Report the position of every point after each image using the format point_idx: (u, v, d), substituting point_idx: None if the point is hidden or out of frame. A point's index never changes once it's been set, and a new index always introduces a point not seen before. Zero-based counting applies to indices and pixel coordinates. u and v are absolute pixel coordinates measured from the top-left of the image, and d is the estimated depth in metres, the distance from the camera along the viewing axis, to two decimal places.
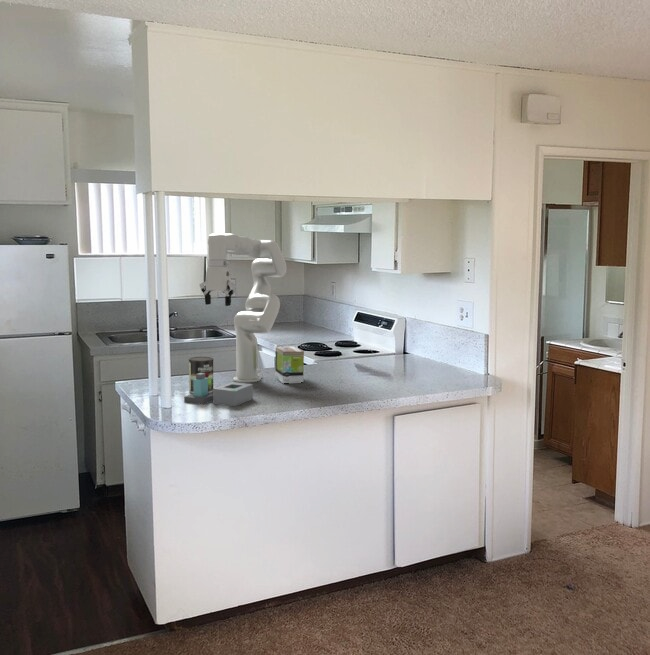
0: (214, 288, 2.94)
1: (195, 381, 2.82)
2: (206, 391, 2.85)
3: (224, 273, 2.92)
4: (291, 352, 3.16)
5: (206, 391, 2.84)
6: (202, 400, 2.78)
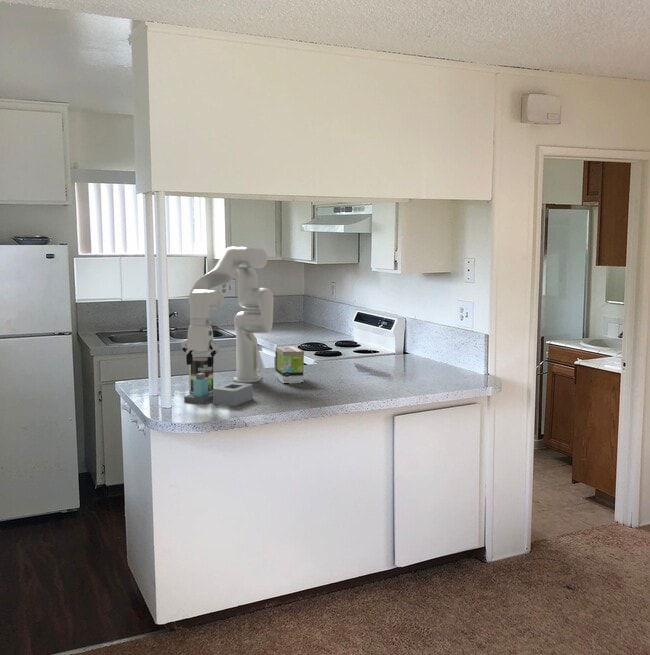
0: (196, 348, 2.79)
1: (195, 381, 2.82)
2: (206, 391, 2.85)
3: (206, 333, 2.77)
4: (291, 352, 3.16)
5: (206, 391, 2.84)
6: (202, 400, 2.78)
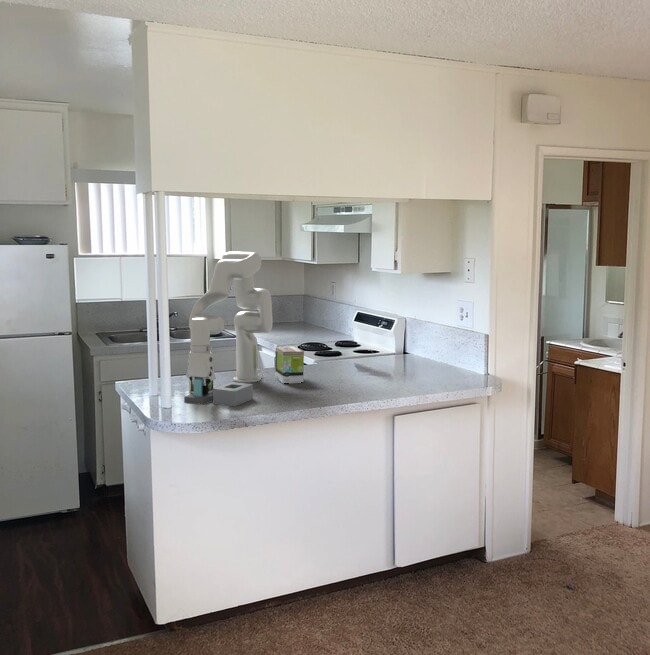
0: (197, 374, 2.81)
1: (195, 381, 2.82)
2: None
3: (207, 359, 2.79)
4: (291, 352, 3.16)
5: None
6: (202, 400, 2.78)
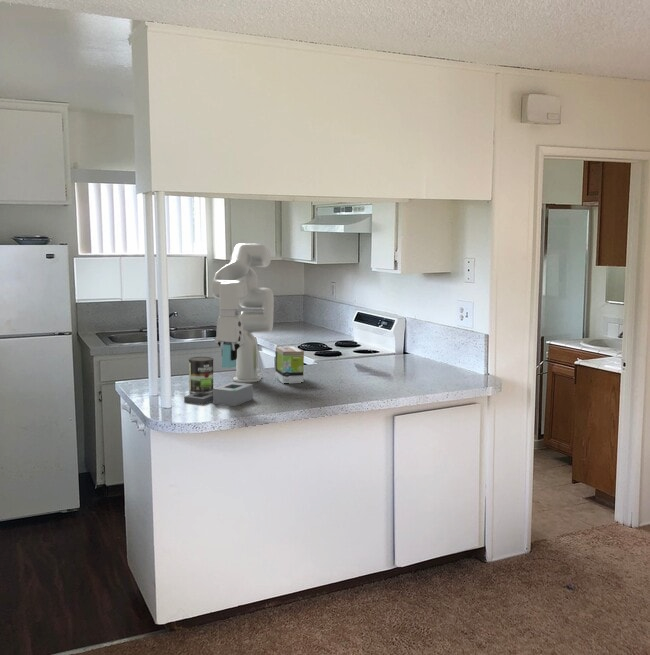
0: (225, 339, 2.79)
1: (224, 346, 2.80)
2: None
3: (236, 324, 2.77)
4: (291, 352, 3.16)
5: None
6: (202, 400, 2.78)
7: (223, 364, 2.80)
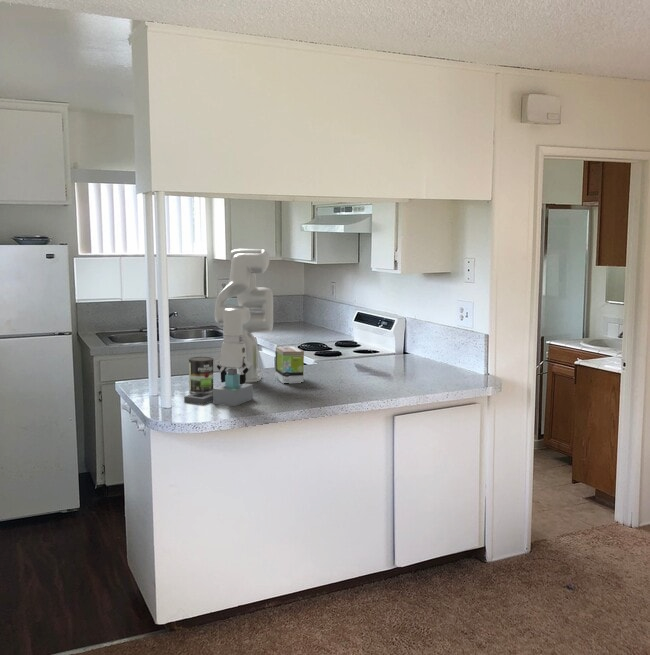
0: (229, 365, 2.80)
1: (226, 377, 2.81)
2: None
3: (240, 350, 2.78)
4: (291, 352, 3.16)
5: (237, 386, 2.84)
6: (202, 400, 2.78)
7: None
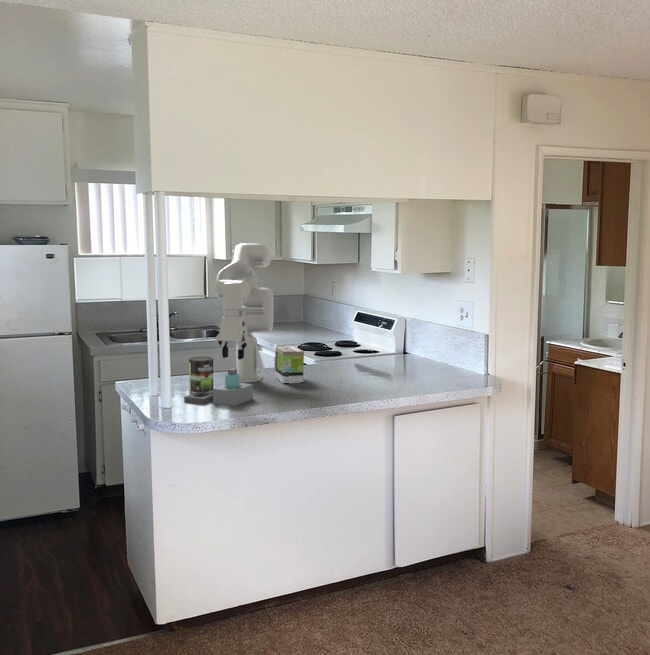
0: (229, 339, 2.79)
1: (226, 377, 2.81)
2: None
3: (240, 323, 2.77)
4: (291, 352, 3.16)
5: (237, 386, 2.84)
6: (202, 400, 2.78)
7: None
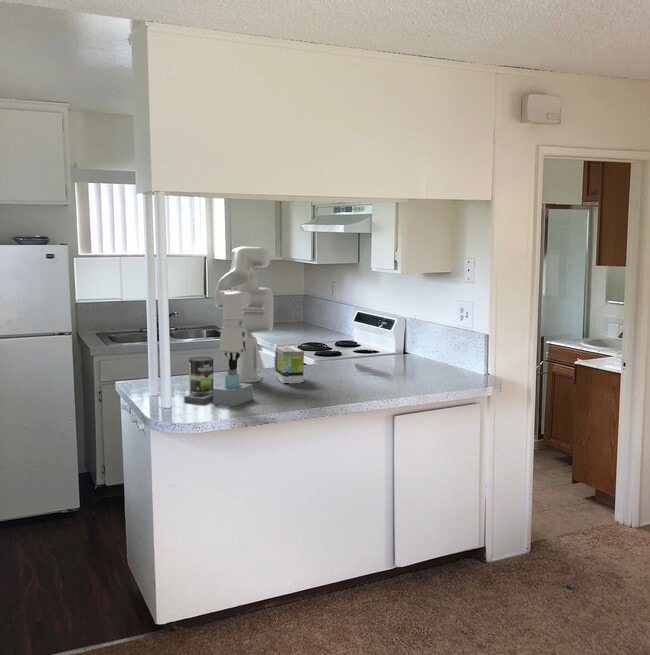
0: (229, 349, 2.80)
1: (226, 377, 2.81)
2: None
3: (240, 334, 2.77)
4: (291, 352, 3.16)
5: (237, 386, 2.84)
6: (202, 400, 2.78)
7: None
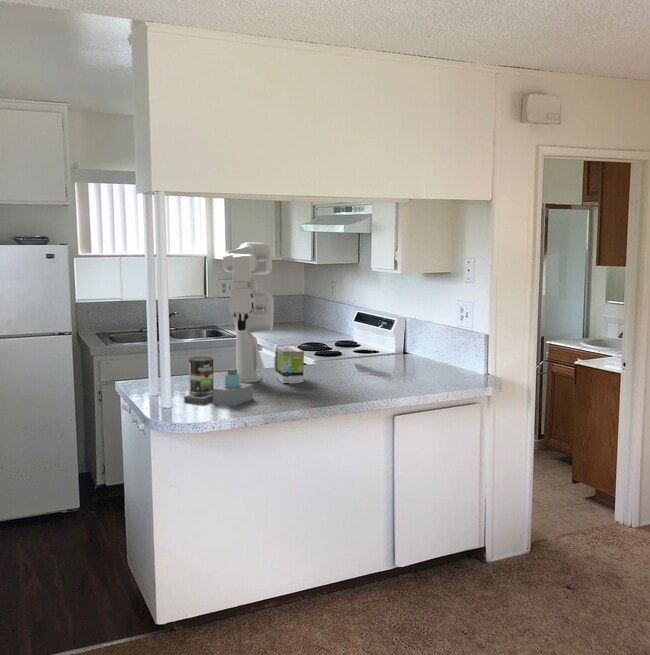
0: (238, 310, 2.90)
1: (227, 377, 2.81)
2: None
3: (248, 295, 2.87)
4: (291, 352, 3.16)
5: (237, 386, 2.84)
6: (202, 400, 2.78)
7: None
